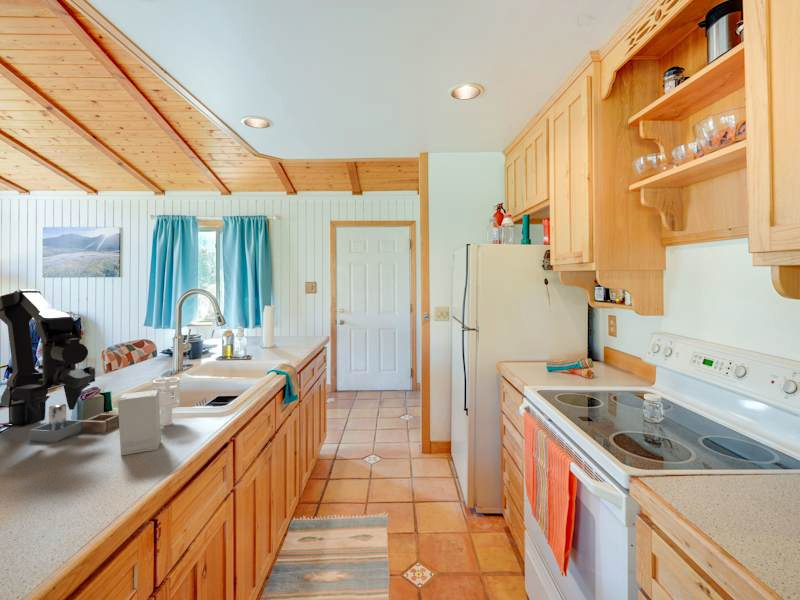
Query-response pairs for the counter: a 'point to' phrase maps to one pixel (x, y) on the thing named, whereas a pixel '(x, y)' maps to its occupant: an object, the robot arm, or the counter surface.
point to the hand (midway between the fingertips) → (57, 414)
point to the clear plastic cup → (167, 397)
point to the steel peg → (57, 417)
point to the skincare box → (139, 422)
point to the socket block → (100, 423)
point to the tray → (56, 432)
